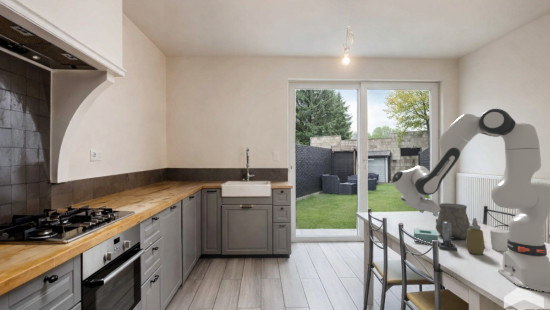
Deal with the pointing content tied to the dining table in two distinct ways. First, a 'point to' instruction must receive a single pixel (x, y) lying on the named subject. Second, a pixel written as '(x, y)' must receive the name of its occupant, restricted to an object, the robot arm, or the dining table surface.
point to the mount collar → (447, 247)
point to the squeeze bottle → (475, 239)
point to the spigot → (447, 234)
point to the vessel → (453, 219)
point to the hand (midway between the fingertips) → (429, 213)
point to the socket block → (425, 235)
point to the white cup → (499, 239)
